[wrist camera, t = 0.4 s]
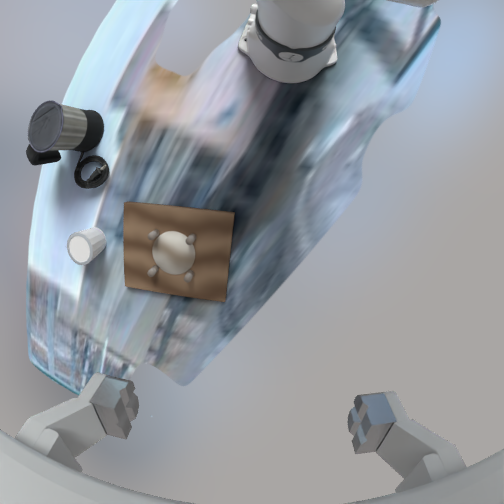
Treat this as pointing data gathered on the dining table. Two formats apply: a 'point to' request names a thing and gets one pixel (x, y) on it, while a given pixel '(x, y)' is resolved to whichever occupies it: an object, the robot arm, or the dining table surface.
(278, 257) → the dining table surface
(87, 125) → the milk frother
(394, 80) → the dining table surface
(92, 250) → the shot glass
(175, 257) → the pin board
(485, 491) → the robot arm
